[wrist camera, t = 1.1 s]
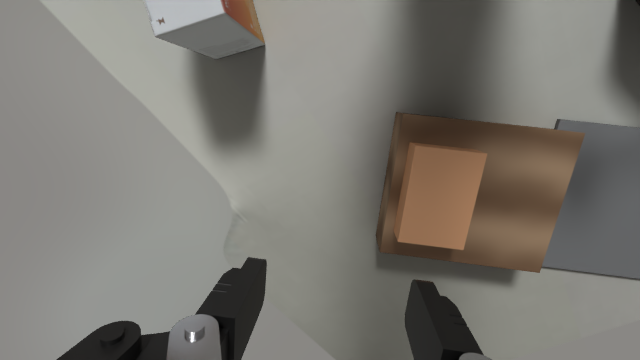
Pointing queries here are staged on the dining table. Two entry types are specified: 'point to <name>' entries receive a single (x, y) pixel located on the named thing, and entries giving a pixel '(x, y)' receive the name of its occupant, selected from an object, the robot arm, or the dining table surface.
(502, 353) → the dining table surface
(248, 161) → the dining table surface
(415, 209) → the orange tan block
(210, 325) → the robot arm
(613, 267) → the mat
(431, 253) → the brown box
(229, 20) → the small box
